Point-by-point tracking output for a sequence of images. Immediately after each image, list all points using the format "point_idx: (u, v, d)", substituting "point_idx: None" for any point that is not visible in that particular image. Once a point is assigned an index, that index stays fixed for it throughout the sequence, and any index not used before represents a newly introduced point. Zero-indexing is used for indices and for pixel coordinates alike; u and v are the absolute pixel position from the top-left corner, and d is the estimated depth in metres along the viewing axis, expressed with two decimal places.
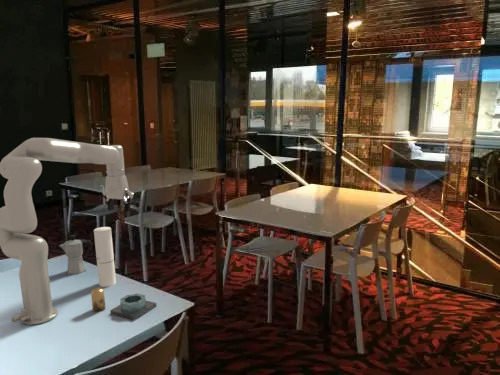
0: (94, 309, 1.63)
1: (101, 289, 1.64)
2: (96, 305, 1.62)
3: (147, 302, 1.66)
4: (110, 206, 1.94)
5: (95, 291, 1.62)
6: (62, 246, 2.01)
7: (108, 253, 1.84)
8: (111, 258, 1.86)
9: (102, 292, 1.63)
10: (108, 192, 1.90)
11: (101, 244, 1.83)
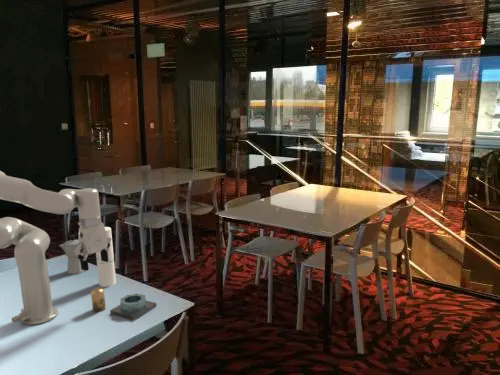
0: (94, 309, 1.63)
1: (101, 289, 1.64)
2: (96, 305, 1.62)
3: (147, 302, 1.66)
4: None
5: (95, 291, 1.62)
6: (62, 246, 2.01)
7: (108, 253, 1.84)
8: (111, 258, 1.86)
9: (102, 292, 1.63)
10: (92, 246, 1.56)
11: None
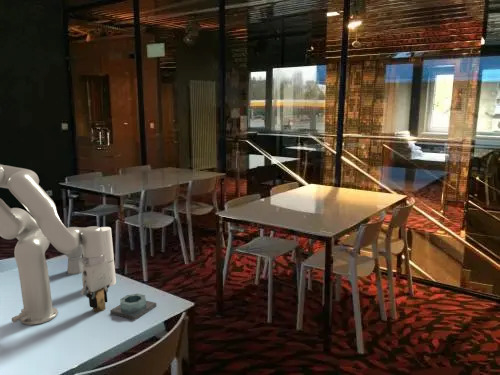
0: (94, 309, 1.63)
1: (101, 289, 1.64)
2: None
3: (147, 302, 1.66)
4: None
5: (95, 291, 1.62)
6: None
7: (108, 253, 1.84)
8: (111, 258, 1.86)
9: (102, 292, 1.63)
10: (95, 284, 1.59)
11: None
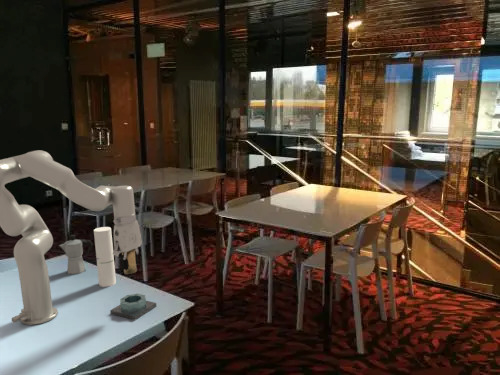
0: (125, 271, 1.58)
1: (132, 250, 1.59)
2: (128, 266, 1.58)
3: (147, 302, 1.66)
4: None
5: None
6: (62, 246, 2.01)
7: (108, 253, 1.84)
8: (111, 258, 1.86)
9: (133, 253, 1.59)
10: (127, 244, 1.55)
11: (101, 244, 1.83)
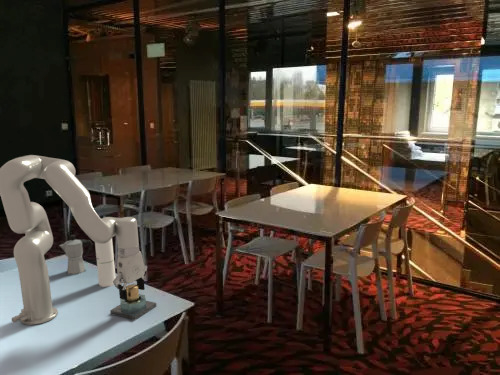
0: None
1: (136, 286, 1.62)
2: (131, 302, 1.60)
3: (147, 302, 1.66)
4: None
5: (130, 288, 1.60)
6: (62, 246, 2.01)
7: (108, 253, 1.84)
8: (111, 258, 1.86)
9: (137, 289, 1.61)
10: (131, 275, 1.57)
11: (101, 244, 1.83)
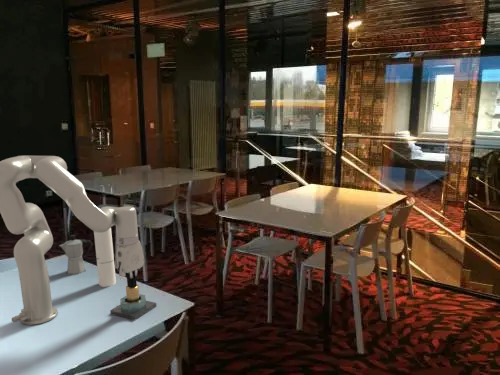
0: None
1: (136, 286, 1.62)
2: (131, 302, 1.60)
3: (147, 302, 1.66)
4: None
5: (130, 288, 1.60)
6: (62, 246, 2.01)
7: (108, 253, 1.84)
8: (111, 258, 1.86)
9: (137, 289, 1.61)
10: (130, 265, 1.56)
11: (101, 244, 1.83)
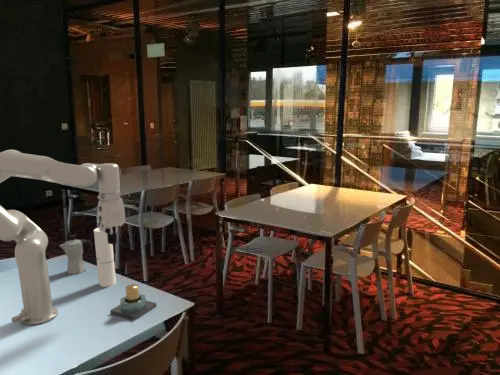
0: None
1: (136, 286, 1.62)
2: (131, 302, 1.60)
3: (147, 302, 1.66)
4: None
5: (130, 288, 1.60)
6: (62, 246, 2.01)
7: (108, 253, 1.84)
8: (111, 258, 1.86)
9: (137, 289, 1.61)
10: (110, 220, 1.58)
11: (101, 244, 1.83)
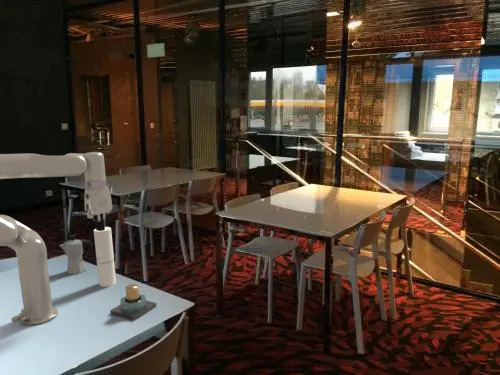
0: None
1: (136, 286, 1.62)
2: (131, 302, 1.60)
3: (147, 302, 1.66)
4: None
5: (130, 288, 1.60)
6: (62, 246, 2.01)
7: (108, 253, 1.84)
8: (111, 258, 1.86)
9: (137, 289, 1.61)
10: (97, 207, 1.63)
11: (101, 244, 1.83)
